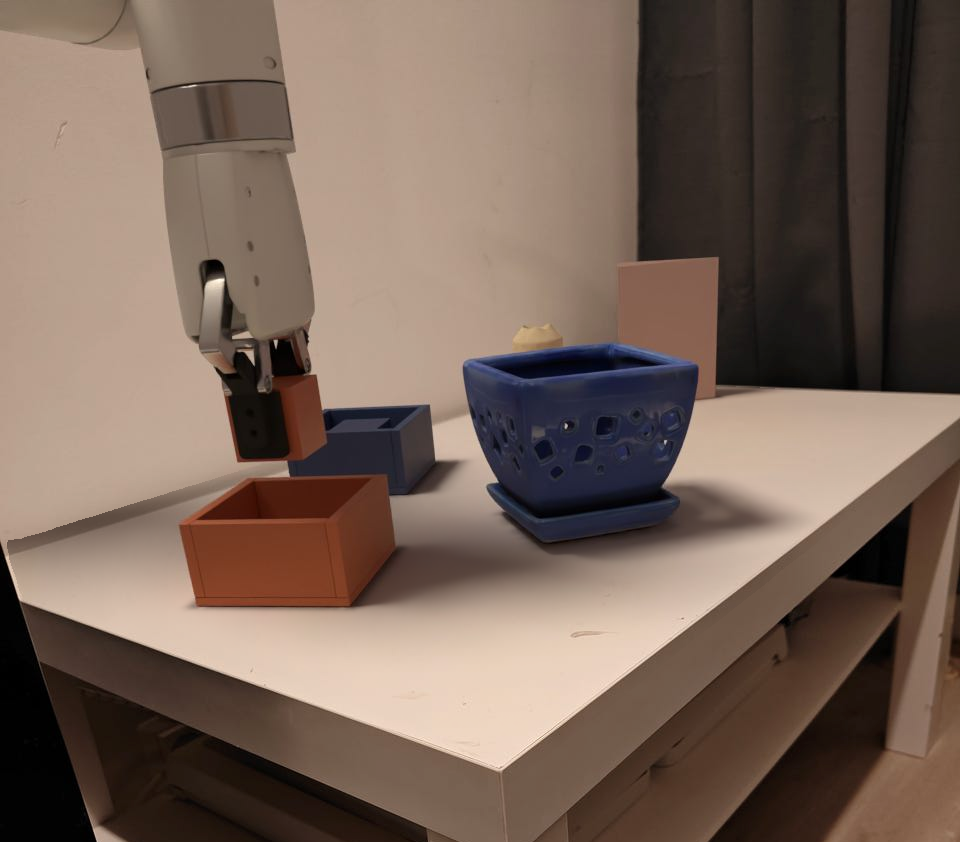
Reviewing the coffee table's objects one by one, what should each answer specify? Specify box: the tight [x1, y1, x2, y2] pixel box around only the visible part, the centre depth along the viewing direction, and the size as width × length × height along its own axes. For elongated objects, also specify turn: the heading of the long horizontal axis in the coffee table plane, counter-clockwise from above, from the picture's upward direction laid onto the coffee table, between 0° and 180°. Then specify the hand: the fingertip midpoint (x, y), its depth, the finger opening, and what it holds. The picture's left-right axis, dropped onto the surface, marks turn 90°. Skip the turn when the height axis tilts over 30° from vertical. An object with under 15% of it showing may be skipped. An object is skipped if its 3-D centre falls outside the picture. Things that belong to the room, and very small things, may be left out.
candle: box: [511, 323, 564, 353], centre depth 103 cm, size 6×6×10 cm
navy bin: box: [286, 404, 437, 496], centre depth 86 cm, size 11×11×6 cm
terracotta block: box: [223, 373, 327, 463], centre depth 60 cm, size 4×4×4 cm
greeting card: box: [616, 256, 720, 400], centre depth 105 cm, size 11×7×15 cm, turn 65°
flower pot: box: [462, 342, 699, 544], centre depth 68 cm, size 13×13×12 cm
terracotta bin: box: [178, 474, 397, 607], centre depth 63 cm, size 11×11×6 cm
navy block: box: [329, 418, 392, 431], centre depth 86 cm, size 4×4×4 cm
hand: (281, 444), depth 61 cm, fingers closed on terracotta block, 4 cm apart
